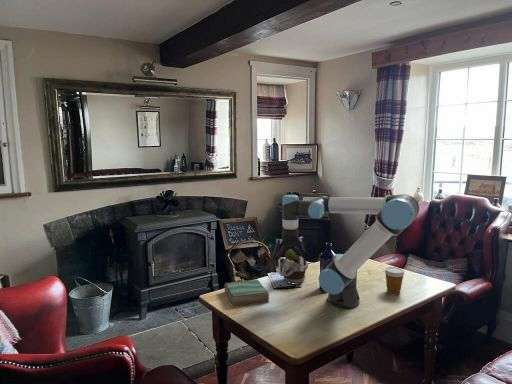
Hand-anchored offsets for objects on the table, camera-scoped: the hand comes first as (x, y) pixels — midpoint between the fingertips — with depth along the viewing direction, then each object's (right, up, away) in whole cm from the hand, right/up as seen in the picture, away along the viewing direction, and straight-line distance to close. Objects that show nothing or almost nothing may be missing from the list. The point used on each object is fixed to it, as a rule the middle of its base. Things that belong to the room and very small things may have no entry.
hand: (290, 271), depth 182 cm
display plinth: (-21, -14, +7) cm, 27 cm away
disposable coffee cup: (+54, -13, +12) cm, 57 cm away
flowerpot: (+5, -11, +28) cm, 30 cm away
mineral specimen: (0, -1, 0) cm, 1 cm away
